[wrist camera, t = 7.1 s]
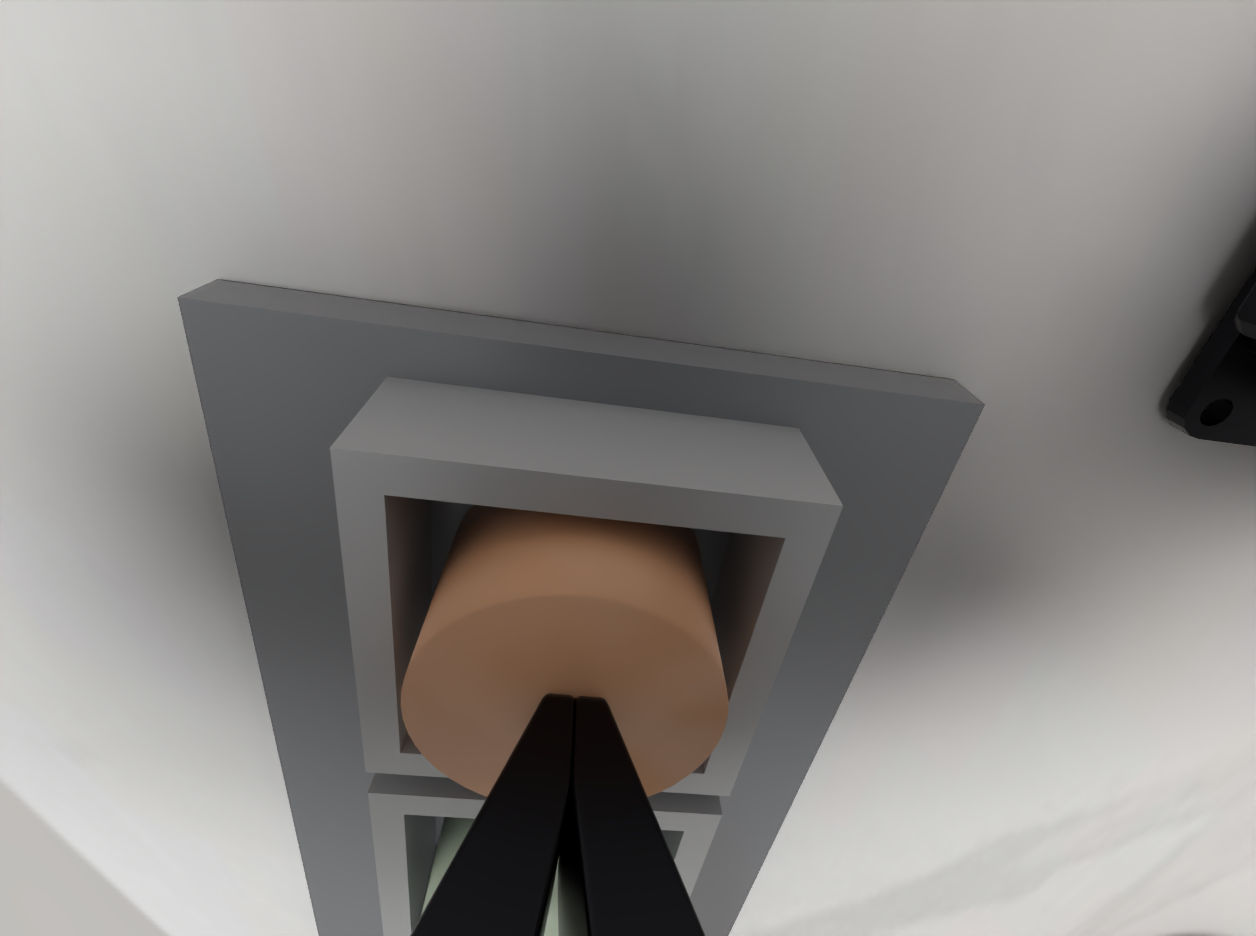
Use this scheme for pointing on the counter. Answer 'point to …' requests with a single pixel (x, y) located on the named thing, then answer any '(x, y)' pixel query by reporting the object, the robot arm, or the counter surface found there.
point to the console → (554, 483)
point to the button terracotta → (566, 642)
